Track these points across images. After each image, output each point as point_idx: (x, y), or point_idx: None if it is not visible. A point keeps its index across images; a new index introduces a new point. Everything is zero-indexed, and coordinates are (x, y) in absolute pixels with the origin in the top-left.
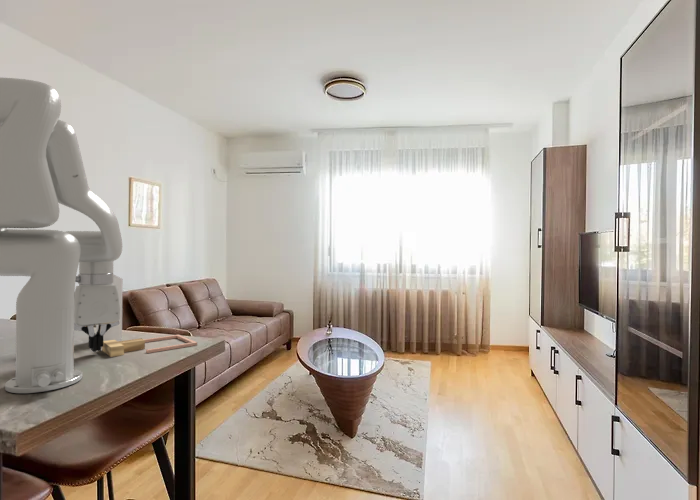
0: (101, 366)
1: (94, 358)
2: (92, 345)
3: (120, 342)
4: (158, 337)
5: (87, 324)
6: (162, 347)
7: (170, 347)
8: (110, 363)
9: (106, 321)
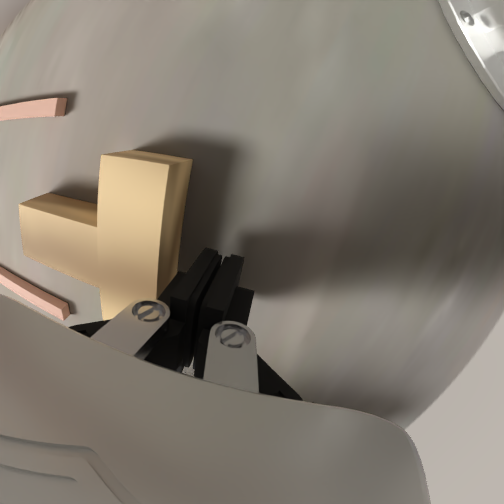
0: (319, 16)
1: (264, 204)
2: (238, 293)
3: (93, 252)
4: (6, 285)
5: (301, 404)
6: (17, 111)
7: (7, 105)
8: (261, 29)
9: (50, 335)
